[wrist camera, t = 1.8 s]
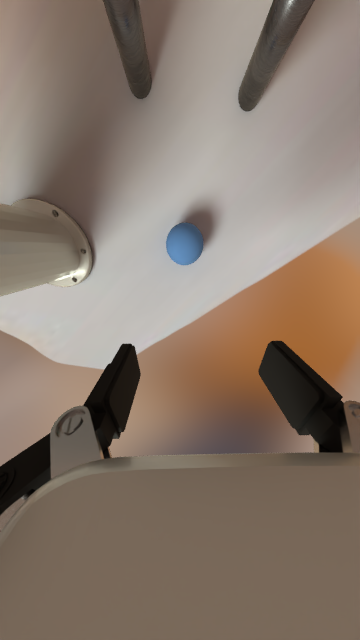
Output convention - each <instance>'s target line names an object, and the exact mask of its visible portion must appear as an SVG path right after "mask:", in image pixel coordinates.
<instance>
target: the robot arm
mask: <svg viewBox="0 0 360 640" xmlns="http://www.w3.org/2000/svg"><path fill="white" fill-rule="evenodd" d="M85 250H86V252H85ZM91 267H92V253H91V248H90V245H89V243H88V240H87V238H86V236H85V234H84V233H83V231H82V230H81V228H80V227H79V225H78V224H77V223H76V222H75V221H74V220H73V219H72V218H71V217H70V216H69V215H68V214H66V213H65V212H64V211H63V210H61V209H59V208H58V207H56V206H54V205H52V204H49V203H47V202H44V201H40V200H37V199H22V200H19V201H17V202H15V203H13V204H12V205H11V206H9V205H5V204H0V296H4V295H8V294H11V293H15V292H18V291H22V290H25V289H29V288H32V287H36V286H39V285H43V284H46V283H48V284H51V285H54V286H59V287H70V286H74V285H77V284H79V283H81V282H82V281H84V280H85V279H86V278H87V277H88V275H89V273H90V271H91ZM259 375H260V377H261V378H262V380H263V382H264V383H265V385H266V386H267V388H268V390H269V391H270V392H271V394H272V396H273V398H274V399H275V401H276V402H277V404H278V406H279V407H280V409H281V410H282V412H283V414H284V415H285V417H286V418H287V420H288V422H289V423H290V425H291V426H292V427H293V428H295V429H296V431H297V432H298V434H299V435H309V434H311V436H312V437H313V438H314V453H251V454H201V455H158V456H134V457H117V458H112V455H111V453H110V449H109V446H110V445H111V442H112V439H119V437H120V433H121V432H124V430H125V427H126V423H127V420H128V417H129V413H130V410H131V406H132V403H133V400H134V396H135V393H136V389H137V386H138V382H139V379H140V369H139V365H138V360H137V355H136V351H135V347H134V346H132V344H122V345H121V347H120V348H119V350H118V352H117V354H116V355H115V357H114V359H113V361H112V362H111V364H108V365H107V367H106V368H105V370H104V372H103V373H102V375H101V377H100V379H99V380H98V382H97V383H96V385H95V387H94V389H93V390H92V392H91V393H90V395H89V397H88V399H87V400H86V402H85V404H84V405H83V406H77V407H73V408H71V409H70V410H68V411H66V412H65V413H63V414H62V415H61V416H60V417H59V418H58V420H57V421H56V422H55V423H54V425H53V427H52V429H51V433H49V434H48V435H46V436H45V437H43V438H42V439H41V440H39V441H38V442H36V443H35V444H33V445H32V446H30V447H29V448H27V449H26V450H24V451H23V452H21V453H20V454H18V455H17V456H15V457H14V458H12V459H11V460H9V461H8V462H6V463H5V464H3V465H2V466H0V640H360V403H359V402H356V401H346V402H345V403H343V402H342V401H341V399H342V396H341V395H340V394H339V393H338V392H337V391H336V390H335V389H334V388H332V387H331V386H330V385H329V384H328V383H327V382H326V381H325V380H324V379H323V378H322V377H321V376H320V375H318V374H317V373H316V372H315V371H314V370H313V369H312V368H311V367H310V366H309V365H307V364H306V363H305V362H304V361H303V360H302V359H301V358H300V357H299V356H298V355H296V354H295V353H294V352H293V351H292V350H291V349H290V348H289V347H288V346H287V345H286V344H285V343H284V342H282V341H271V342H270V343H269V344H268V346H267V348H266V351H265V354H264V357H263V360H262V363H261V365H260V368H259Z"/></svg>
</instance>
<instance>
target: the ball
mask: <svg viewBox="0 0 360 640" xmlns="http://www.w3.org/2000/svg"><path fill="white" fill-rule="evenodd" d="M166 248H167V252H168V254H169V256H170V258H171V259H172V260H173V261H174V262H176V263H178V264H180V265H189V264H192V263H193V262H195V261H196V260H197V259H198V258H199V257H200V255H201V253H202V250H203V237H202V234H201V232H200V231H199V229H198V228H197V227H196V226H194V225H193V224H190V223H180V224H178V225H176V226H174V227H173V228H172V229H171V231H170V232H169V234H168V237H167V241H166Z"/></svg>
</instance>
